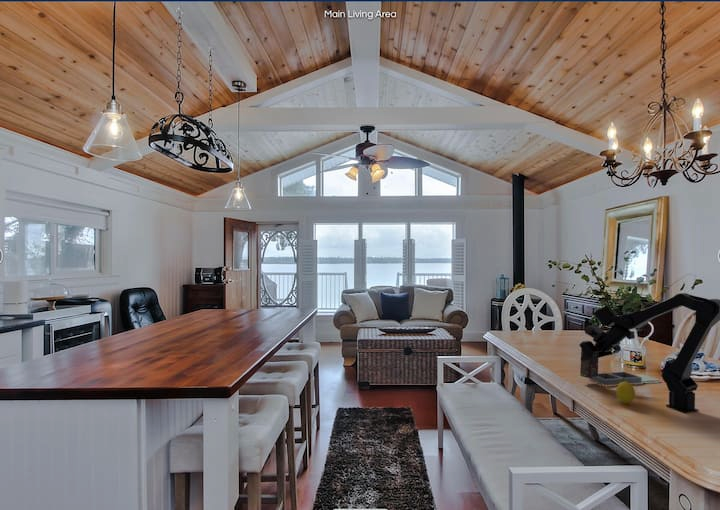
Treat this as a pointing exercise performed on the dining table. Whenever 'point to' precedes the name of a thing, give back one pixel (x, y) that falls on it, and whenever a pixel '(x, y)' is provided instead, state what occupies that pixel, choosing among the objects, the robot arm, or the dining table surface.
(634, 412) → the dining table surface
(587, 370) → the box
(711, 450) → the dining table surface
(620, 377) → the tray
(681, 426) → the dining table surface
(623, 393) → the lemon
